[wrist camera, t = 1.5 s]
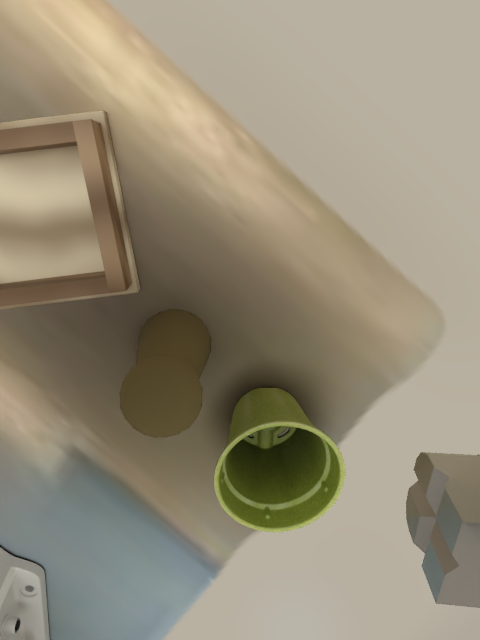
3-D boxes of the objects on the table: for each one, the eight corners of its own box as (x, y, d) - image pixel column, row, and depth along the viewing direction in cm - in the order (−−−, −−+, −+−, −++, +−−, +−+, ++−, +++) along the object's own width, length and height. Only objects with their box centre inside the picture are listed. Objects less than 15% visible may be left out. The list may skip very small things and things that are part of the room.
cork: (123, 343, 36) (85, 409, 26) (174, 294, 35) (156, 343, 25) (175, 389, 38) (159, 470, 28) (226, 344, 37) (229, 411, 26)
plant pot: (340, 412, 39) (372, 475, 31) (267, 478, 41) (279, 553, 33) (266, 347, 37) (280, 396, 29) (192, 420, 39) (186, 485, 31)
